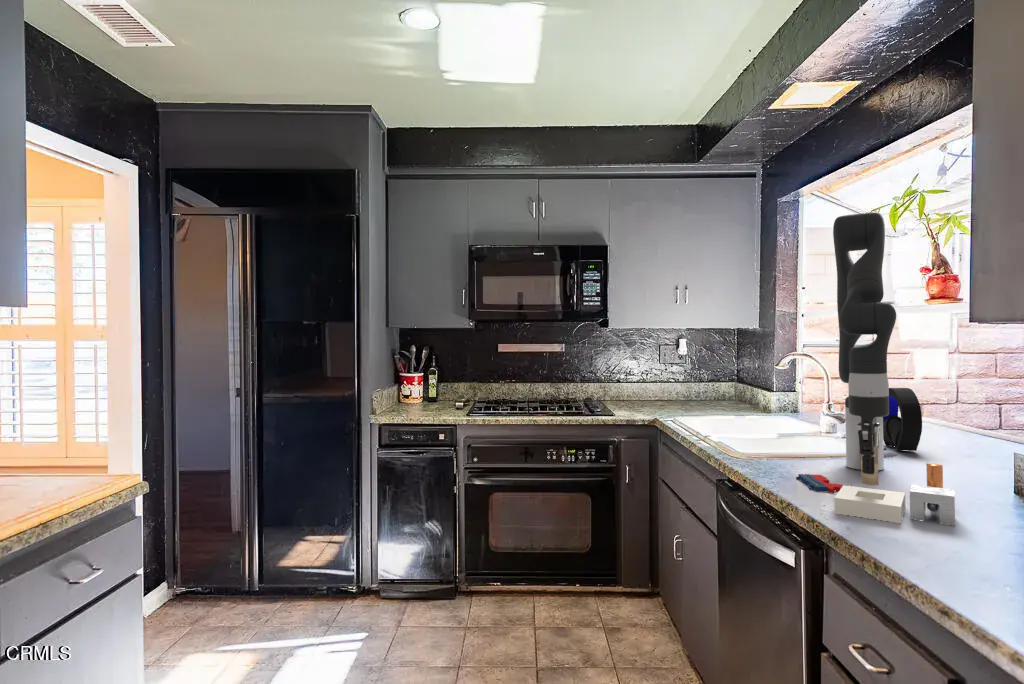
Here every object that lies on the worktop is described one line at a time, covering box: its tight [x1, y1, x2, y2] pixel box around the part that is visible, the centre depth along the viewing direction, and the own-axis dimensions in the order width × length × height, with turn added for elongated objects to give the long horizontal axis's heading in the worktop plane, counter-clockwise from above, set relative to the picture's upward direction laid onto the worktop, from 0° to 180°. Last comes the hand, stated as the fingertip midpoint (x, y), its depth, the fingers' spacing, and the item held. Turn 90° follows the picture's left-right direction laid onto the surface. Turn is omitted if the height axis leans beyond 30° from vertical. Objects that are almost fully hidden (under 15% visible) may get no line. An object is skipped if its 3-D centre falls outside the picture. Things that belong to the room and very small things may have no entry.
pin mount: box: [909, 484, 956, 527], centre depth 120 cm, size 7×6×6 cm
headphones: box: [883, 387, 923, 452], centre depth 186 cm, size 18×7×20 cm, turn 167°
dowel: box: [860, 441, 880, 486], centre depth 126 cm, size 3×3×10 cm
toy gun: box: [795, 473, 852, 494], centre depth 147 cm, size 15×2×10 cm
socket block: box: [834, 484, 906, 524], centre depth 126 cm, size 12×12×4 cm
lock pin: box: [926, 462, 944, 512], centre depth 127 cm, size 3×16×8 cm, turn 142°
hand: (869, 471), depth 126 cm, fingers closed on dowel, 3 cm apart
